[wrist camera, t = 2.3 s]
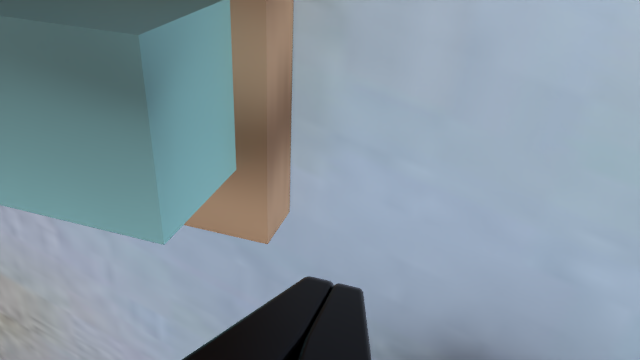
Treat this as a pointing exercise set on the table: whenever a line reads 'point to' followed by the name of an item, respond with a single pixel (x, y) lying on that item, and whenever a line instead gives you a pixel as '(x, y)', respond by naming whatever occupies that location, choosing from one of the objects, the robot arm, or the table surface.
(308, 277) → the robot arm
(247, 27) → the board
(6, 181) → the block
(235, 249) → the table surface
